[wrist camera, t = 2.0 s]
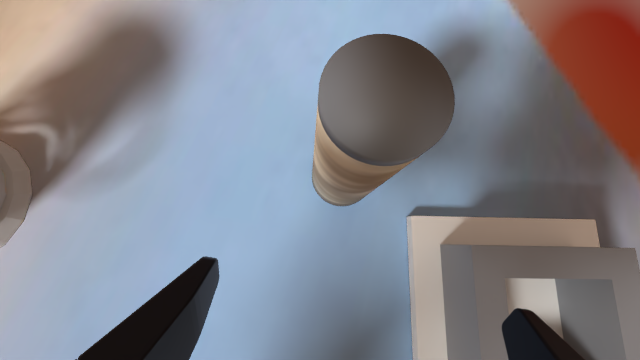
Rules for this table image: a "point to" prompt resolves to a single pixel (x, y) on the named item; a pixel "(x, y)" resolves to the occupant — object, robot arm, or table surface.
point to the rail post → (376, 114)
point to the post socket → (519, 286)
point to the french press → (13, 191)
